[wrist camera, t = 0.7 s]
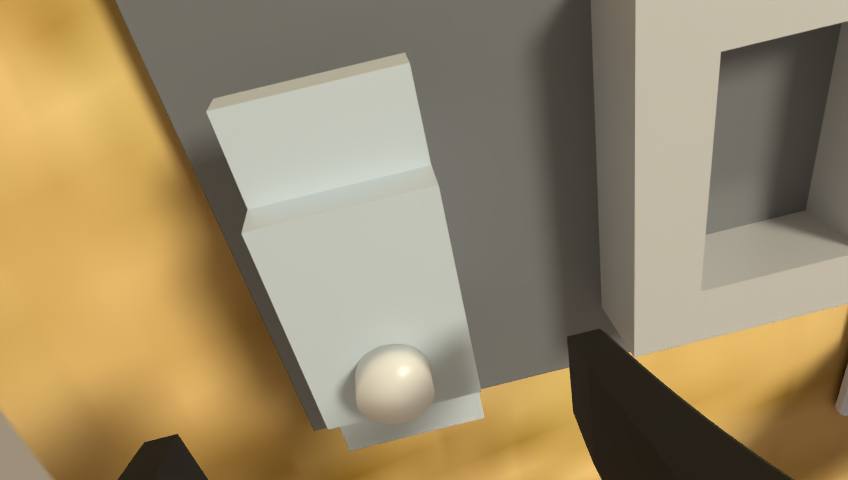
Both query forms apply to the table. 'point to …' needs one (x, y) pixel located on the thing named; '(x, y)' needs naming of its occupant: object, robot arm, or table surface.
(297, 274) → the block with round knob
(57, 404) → the table surface
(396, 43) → the servo chassis
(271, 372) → the table surface
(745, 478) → the robot arm
